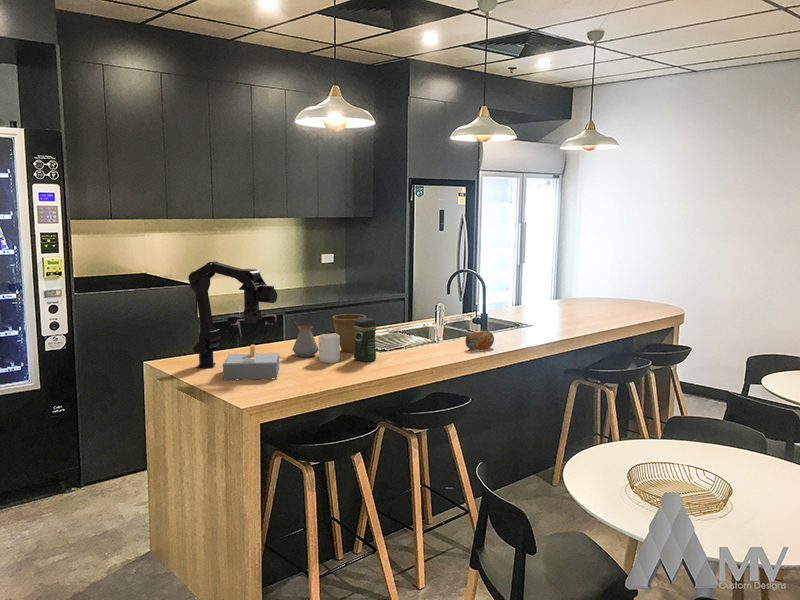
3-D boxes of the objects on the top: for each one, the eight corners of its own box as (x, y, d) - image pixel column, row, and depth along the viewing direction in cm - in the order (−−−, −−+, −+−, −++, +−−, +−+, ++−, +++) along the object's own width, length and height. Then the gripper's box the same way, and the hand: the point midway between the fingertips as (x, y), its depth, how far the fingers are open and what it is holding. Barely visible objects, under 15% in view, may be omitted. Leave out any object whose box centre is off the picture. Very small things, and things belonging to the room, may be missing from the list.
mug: (343, 362, 277) (343, 336, 275) (323, 364, 273) (323, 338, 271) (332, 356, 287) (331, 331, 286) (313, 358, 283) (313, 333, 281)
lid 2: (226, 359, 253) (225, 355, 253) (277, 358, 256) (277, 354, 256) (223, 364, 246) (223, 360, 246) (276, 363, 248) (276, 359, 248)
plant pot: (355, 345, 309) (355, 312, 307) (371, 352, 297) (371, 317, 294) (327, 349, 301) (327, 315, 299) (342, 355, 289) (342, 320, 286)
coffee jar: (379, 360, 281) (379, 318, 278) (365, 363, 276) (365, 320, 273) (364, 356, 288) (365, 315, 285) (350, 359, 283) (350, 317, 280)
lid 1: (228, 355, 261) (228, 344, 261) (278, 354, 264) (278, 343, 263) (226, 359, 254) (225, 348, 253) (277, 358, 256) (277, 347, 255)
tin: (467, 351, 301) (468, 333, 300) (464, 349, 304) (464, 332, 302) (494, 348, 308) (494, 330, 307) (490, 346, 311) (490, 329, 310)
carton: (228, 369, 262) (228, 355, 261) (279, 368, 265) (278, 354, 264) (223, 380, 247) (222, 365, 246) (276, 379, 249) (276, 364, 248)
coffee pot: (323, 356, 288) (322, 322, 286) (299, 359, 281) (299, 325, 279) (301, 347, 305) (301, 315, 303) (279, 350, 299) (278, 318, 296)
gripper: (224, 304, 246) (225, 345, 248) (274, 304, 248) (275, 344, 250) (228, 300, 257) (229, 339, 259) (276, 300, 259) (276, 338, 261)
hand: (252, 340), depth 257 cm, fingers open, 9 cm apart
